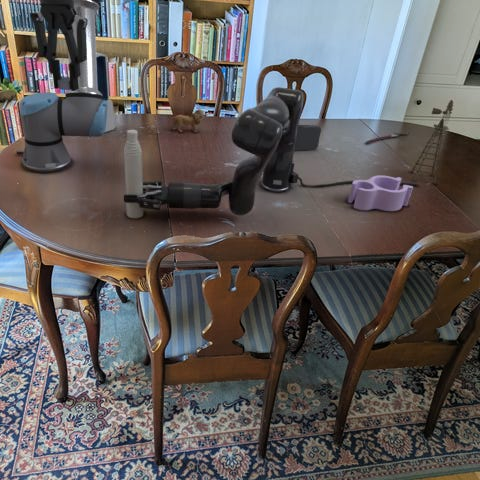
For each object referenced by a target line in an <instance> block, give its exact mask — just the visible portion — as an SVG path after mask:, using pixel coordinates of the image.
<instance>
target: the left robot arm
mask: <svg viewBox="0 0 480 480" xmlns="http://www.w3.org/2000/svg"><path fill="white" fill-rule="evenodd" d="M104 1H105V0H39V2H40V9H39V10H38V11H35V12H31V13H30V14H29V16H30V19H31V22H32V23H33V26H34V32H35V38H36V43H37V44H36V45H37V51H38V55H39V57H40V58H44V59H46V60H47V65H48V72H49V74H50V75H52V80H53V88H54V89H55V90H56V89H57V90H58V89H59V88H58V82H57V81H58V80H57V79H58V78H61V77H62V73H61V72H62V71H61V62H60V59H57V58H58V56H57V48H58V47H57V46H58V33H59V30H61V34H62V35H63V37H64V40H65V44H66V48H67V52H68V54H67V55H68V72H69V73H68V75H69V76H68V77H69V78H70V84H71V90H66V92H65V94H64V95H65V98H64V99H63V98H59V96H58V94H56V93H54V92H51V91H49V92H48V91H44V92H43V91H42V92H36V93H32V94H28V95H26V96H23V97H22V98H21V99H20V101H19V103H18V104H19V116H20V119H21V126H22V132H23V137H24V148H23V151H16V152H15V153H16V155H22V158H21V159H22V160H21V161H22V166H23V168H24V169H25V170H27V171H29V172H33V173H39V174H46V173H56V172H61V171H63V170H66V169H67V168H69V167H70V166H71V163H72V159H71V155H70V153H69V151H68V150H67V149H68V148H67V147H66V145H65V143H64V140H63V137H89V138H91V137H102V136H104V134H105V133H106V132H105V128H106V122H107V107H108V104H107V101H105V100H103V95H102V94H101V93H100V92H99V91H98V86H97V60H96V52H97V40H96V39H97V38H96V36H97V35H96V17H95V16H96V12H98V10H99V9H100V3H102V2H104ZM44 20H45V22H46V27H45V23H44ZM46 32H47V34H46Z"/></svg>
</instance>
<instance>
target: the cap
mask: <svg viewBox="0 0 480 480" xmlns="http://www.w3.org/2000/svg"><path fill="white" fill-rule="evenodd" d="M57 80H58V81H57V82H58V89H59V90H62V91H68V90H71V84H70V76H67V77H66V76H64V77H63V76H61V78H58V79H57Z"/></svg>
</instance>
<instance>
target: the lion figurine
mask: <svg viewBox="0 0 480 480" xmlns="http://www.w3.org/2000/svg"><path fill="white" fill-rule="evenodd" d="M204 116H205V112H204V110H202V109H199V108H198V109H196V110H195V111H194V112H193V113H191V114H190V115H183V114H178V115H175V117H174V118H173V119H172V124H171V127H170V128H169V131H172V130H176V129H177V130H178V132H179V133H183V130H182V129H181V127H182V124H184V125H186V126H190V129H191V131H193V133H197V132H198V131H197V130H196V129H197V125H200V124H201V123H202V122H203V120H204V118H205V117H204ZM176 126H177V128H176Z"/></svg>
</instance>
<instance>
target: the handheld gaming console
mask: <svg viewBox="0 0 480 480" xmlns="http://www.w3.org/2000/svg"><path fill="white" fill-rule="evenodd" d="M321 133H322V127H321V126H319V125H318V124H298V130H297V136H296V143H295V149H294V151H312V150H317V148H318V147H319V144H320V137H321Z"/></svg>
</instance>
